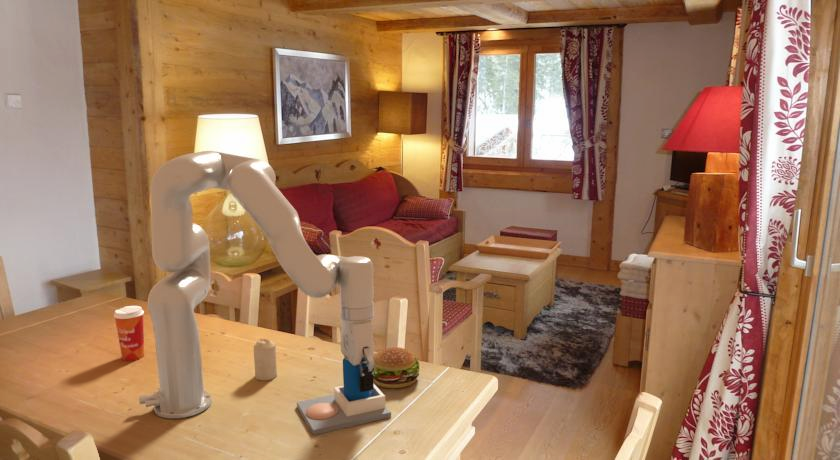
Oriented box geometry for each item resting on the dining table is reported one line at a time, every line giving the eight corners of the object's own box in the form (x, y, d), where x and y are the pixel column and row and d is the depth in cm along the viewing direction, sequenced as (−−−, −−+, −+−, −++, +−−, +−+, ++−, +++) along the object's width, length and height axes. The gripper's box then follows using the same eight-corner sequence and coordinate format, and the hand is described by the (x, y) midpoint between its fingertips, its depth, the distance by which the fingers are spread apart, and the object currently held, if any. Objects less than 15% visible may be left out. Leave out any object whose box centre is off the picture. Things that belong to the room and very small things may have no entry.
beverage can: (367, 411, 141) (365, 362, 138) (340, 408, 142) (338, 359, 140) (375, 398, 147) (374, 350, 144) (349, 395, 148) (348, 348, 146)
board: (313, 435, 133) (312, 417, 132) (297, 406, 145) (296, 390, 145) (391, 417, 141) (390, 399, 140) (368, 391, 153) (368, 375, 152)
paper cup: (111, 360, 172) (106, 312, 170) (133, 350, 179) (129, 303, 177) (133, 364, 169) (128, 315, 167) (154, 353, 176) (150, 307, 174)
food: (368, 368, 167) (367, 340, 165) (420, 368, 166) (420, 340, 165) (362, 391, 153) (361, 361, 152) (418, 392, 153) (418, 361, 151)
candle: (281, 374, 163) (279, 338, 161) (267, 382, 158) (265, 345, 156) (264, 370, 165) (262, 334, 163) (250, 378, 161) (248, 342, 159)
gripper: (329, 302, 146) (331, 370, 149) (354, 326, 131) (356, 401, 134) (359, 298, 149) (361, 365, 153) (387, 320, 134) (388, 394, 137)
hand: (359, 381), depth 143 cm, fingers open, 9 cm apart
